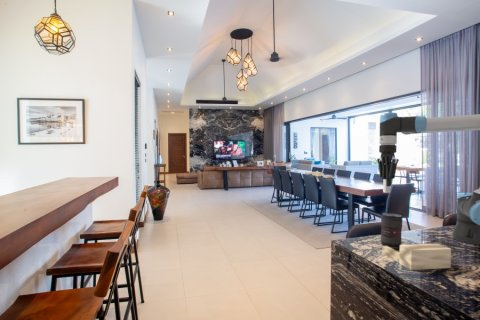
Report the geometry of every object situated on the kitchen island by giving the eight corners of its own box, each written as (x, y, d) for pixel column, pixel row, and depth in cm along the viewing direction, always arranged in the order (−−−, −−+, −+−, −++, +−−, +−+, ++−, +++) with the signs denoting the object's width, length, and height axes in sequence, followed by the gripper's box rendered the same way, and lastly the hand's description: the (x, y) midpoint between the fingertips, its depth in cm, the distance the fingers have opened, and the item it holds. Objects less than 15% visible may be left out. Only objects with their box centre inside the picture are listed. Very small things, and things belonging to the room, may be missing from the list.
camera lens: (404, 252, 118) (405, 217, 118) (383, 251, 120) (384, 216, 119) (397, 246, 126) (398, 213, 126) (378, 245, 128) (379, 212, 127)
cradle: (380, 253, 117) (381, 236, 117) (415, 251, 119) (415, 235, 119) (411, 269, 100) (411, 250, 100) (450, 267, 103) (451, 248, 102)
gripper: (372, 145, 144) (371, 190, 145) (389, 144, 131) (388, 194, 131) (386, 145, 145) (385, 190, 146) (404, 144, 132) (403, 194, 132)
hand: (386, 192), depth 139 cm, fingers closed
